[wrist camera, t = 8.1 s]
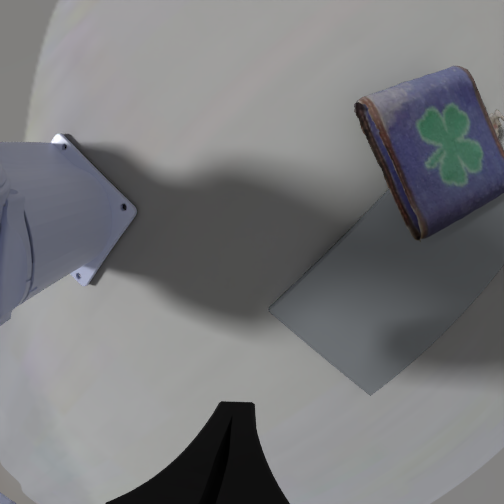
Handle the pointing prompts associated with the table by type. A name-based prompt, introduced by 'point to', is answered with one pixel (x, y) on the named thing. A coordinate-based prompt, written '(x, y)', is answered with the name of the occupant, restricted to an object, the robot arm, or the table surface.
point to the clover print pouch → (435, 148)
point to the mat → (391, 290)
